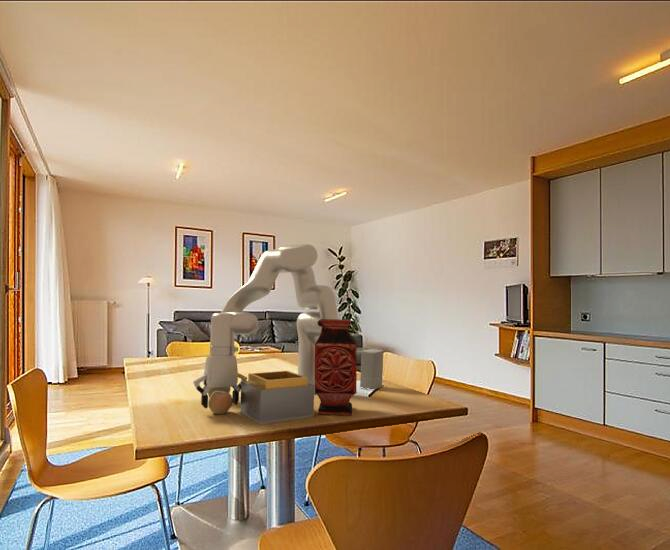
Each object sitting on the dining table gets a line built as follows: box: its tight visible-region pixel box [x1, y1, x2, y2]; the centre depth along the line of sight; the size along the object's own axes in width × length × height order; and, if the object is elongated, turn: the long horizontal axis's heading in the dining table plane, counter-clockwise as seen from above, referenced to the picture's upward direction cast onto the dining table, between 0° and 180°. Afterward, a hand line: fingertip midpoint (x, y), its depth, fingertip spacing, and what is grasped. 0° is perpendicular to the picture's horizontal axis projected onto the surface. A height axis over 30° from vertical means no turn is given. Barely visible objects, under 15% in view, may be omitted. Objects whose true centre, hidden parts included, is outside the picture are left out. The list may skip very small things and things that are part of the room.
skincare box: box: [359, 348, 384, 390], centre depth 189 cm, size 8×7×16 cm
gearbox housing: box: [239, 370, 315, 425], centre depth 143 cm, size 18×16×12 cm
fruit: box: [208, 388, 233, 415], centre depth 144 cm, size 8×7×8 cm
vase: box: [314, 318, 358, 416], centre depth 150 cm, size 14×14×30 cm
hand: (220, 405), depth 143 cm, fingers open, 9 cm apart
